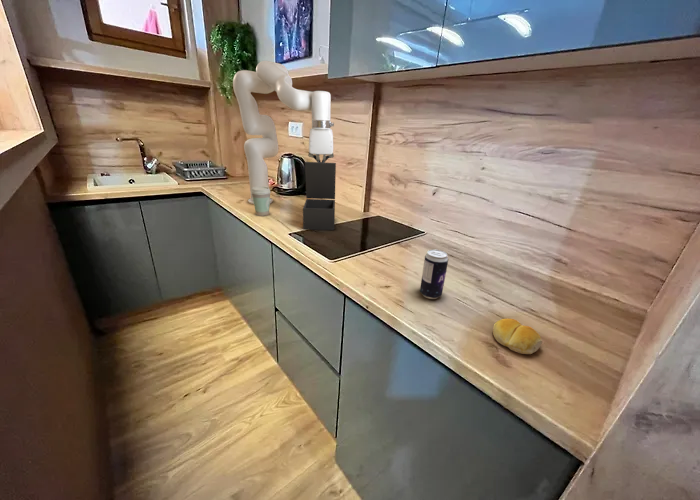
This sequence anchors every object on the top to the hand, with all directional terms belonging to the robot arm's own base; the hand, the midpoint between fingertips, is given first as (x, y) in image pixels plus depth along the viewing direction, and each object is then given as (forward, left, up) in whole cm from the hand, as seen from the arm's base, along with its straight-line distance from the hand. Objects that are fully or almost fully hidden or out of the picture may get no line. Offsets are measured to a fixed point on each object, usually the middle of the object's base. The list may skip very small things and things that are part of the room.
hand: (321, 171), depth 130 cm
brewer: (+8, 0, -21) cm, 22 cm away
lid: (+3, 0, -4) cm, 5 cm away
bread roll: (+83, +45, -21) cm, 97 cm away
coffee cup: (-4, -27, -21) cm, 34 cm away
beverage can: (+65, +32, -21) cm, 76 cm away
